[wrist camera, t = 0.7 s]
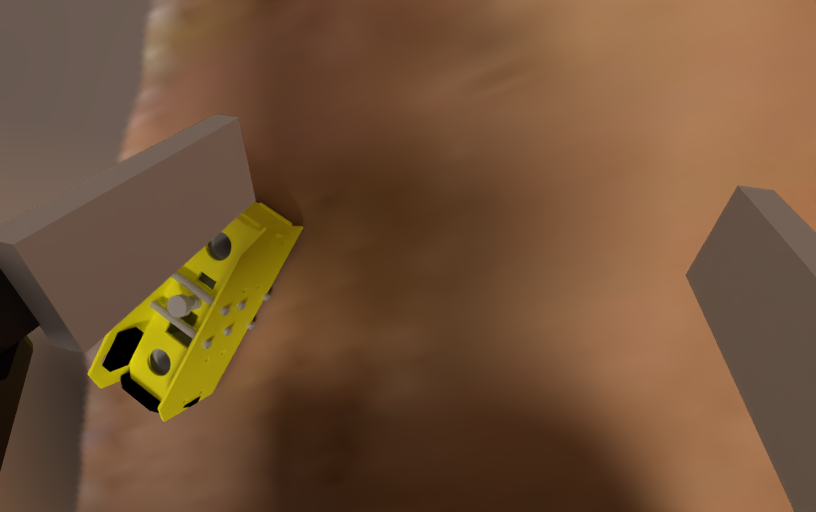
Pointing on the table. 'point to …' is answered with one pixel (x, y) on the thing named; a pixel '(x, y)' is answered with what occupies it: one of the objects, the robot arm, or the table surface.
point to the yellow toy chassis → (197, 316)
